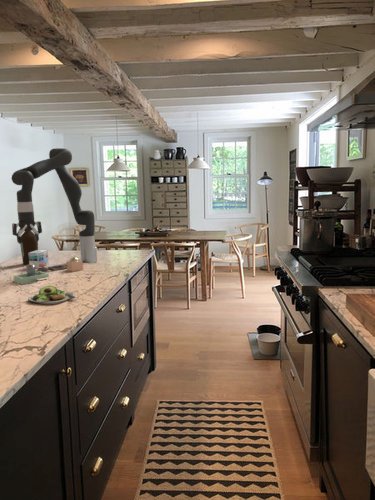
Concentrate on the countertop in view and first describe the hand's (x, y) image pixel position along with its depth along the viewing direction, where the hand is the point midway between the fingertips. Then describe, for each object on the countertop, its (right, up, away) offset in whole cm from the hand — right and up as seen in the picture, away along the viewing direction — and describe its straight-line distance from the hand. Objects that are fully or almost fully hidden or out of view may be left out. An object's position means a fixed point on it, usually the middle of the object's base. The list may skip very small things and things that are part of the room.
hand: (28, 242), depth 198 cm
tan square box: (+18, -17, +20) cm, 32 cm away
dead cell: (+18, -16, +20) cm, 32 cm away
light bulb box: (-7, -15, +32) cm, 37 cm away
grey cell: (0, -19, +3) cm, 19 cm away
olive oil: (-19, -13, +51) cm, 56 cm away
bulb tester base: (+4, -17, +22) cm, 28 cm away
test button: (0, -13, +18) cm, 22 cm away
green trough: (0, -20, +3) cm, 20 cm away
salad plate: (+23, -25, -32) cm, 47 cm away
